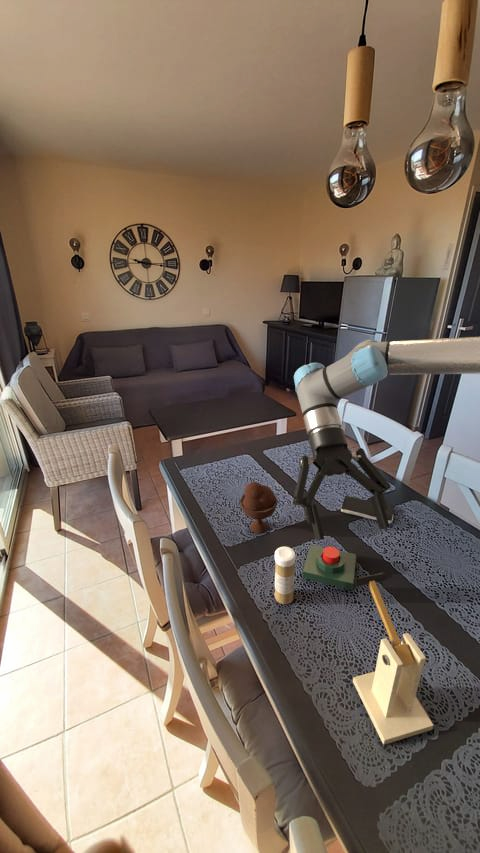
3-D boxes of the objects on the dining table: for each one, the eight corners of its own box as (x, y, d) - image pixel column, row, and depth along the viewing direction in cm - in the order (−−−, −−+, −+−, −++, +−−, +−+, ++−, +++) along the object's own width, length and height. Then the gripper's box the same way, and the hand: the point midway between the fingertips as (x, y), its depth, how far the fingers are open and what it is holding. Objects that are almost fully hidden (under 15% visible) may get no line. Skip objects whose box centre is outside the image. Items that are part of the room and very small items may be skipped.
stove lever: (351, 580, 66) (355, 576, 64) (380, 574, 67) (385, 570, 65) (385, 671, 58) (391, 669, 56) (418, 662, 59) (425, 660, 57)
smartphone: (392, 521, 106) (340, 509, 112) (391, 524, 107) (340, 512, 113) (394, 506, 113) (345, 495, 119) (393, 509, 114) (344, 498, 119)
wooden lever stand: (352, 681, 67) (361, 626, 61) (395, 669, 69) (408, 615, 63) (383, 744, 58) (396, 687, 52) (432, 729, 60) (450, 672, 54)
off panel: (355, 560, 94) (357, 549, 93) (352, 590, 86) (354, 578, 84) (309, 550, 98) (310, 539, 96) (302, 578, 90) (303, 565, 88)
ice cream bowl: (247, 543, 101) (246, 499, 95) (236, 519, 111) (235, 477, 105) (282, 535, 104) (283, 491, 98) (269, 512, 114) (269, 471, 108)
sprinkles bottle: (282, 586, 87) (283, 542, 82) (297, 596, 84) (299, 552, 79) (270, 597, 85) (270, 553, 79) (285, 609, 82) (286, 563, 76)
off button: (339, 554, 91) (340, 548, 91) (338, 566, 88) (338, 559, 87) (323, 551, 93) (324, 545, 92) (321, 562, 89) (321, 555, 88)
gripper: (370, 431, 83) (400, 525, 75) (265, 445, 78) (286, 546, 71) (386, 419, 76) (421, 521, 69) (273, 432, 71) (297, 543, 64)
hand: (352, 534), depth 70 cm, fingers open, 13 cm apart
